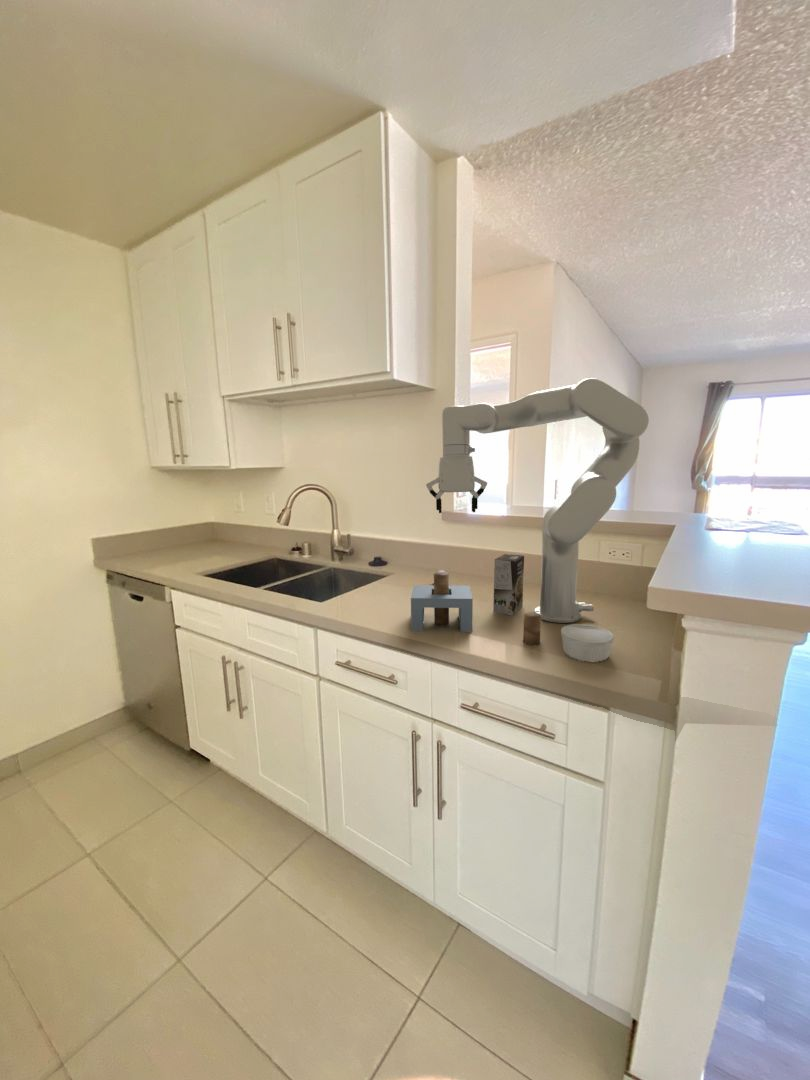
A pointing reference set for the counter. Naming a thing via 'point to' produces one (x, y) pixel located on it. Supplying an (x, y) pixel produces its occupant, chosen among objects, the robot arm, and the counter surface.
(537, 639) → the short pin
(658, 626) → the counter surface
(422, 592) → the bridge
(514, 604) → the coffee box
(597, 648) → the ramekin
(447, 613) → the tall pin
